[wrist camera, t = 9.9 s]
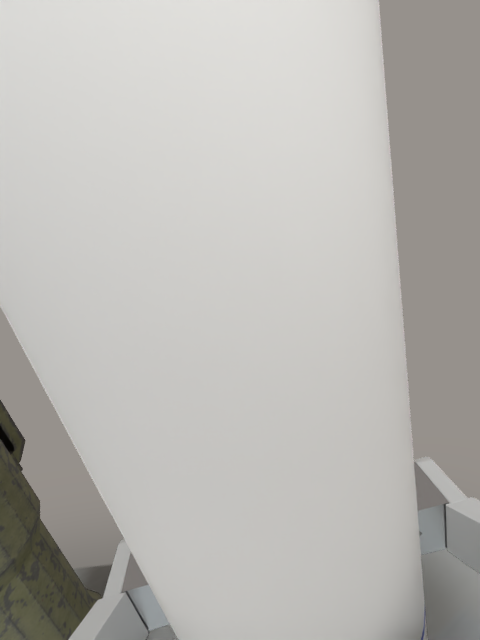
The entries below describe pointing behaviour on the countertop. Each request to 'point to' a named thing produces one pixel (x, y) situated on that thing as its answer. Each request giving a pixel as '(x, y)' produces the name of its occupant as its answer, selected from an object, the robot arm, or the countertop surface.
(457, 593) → the countertop surface
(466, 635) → the countertop surface
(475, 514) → the robot arm
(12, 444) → the thermos
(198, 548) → the cylindrical container
